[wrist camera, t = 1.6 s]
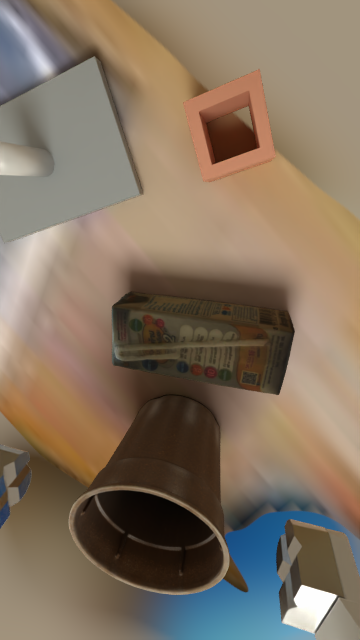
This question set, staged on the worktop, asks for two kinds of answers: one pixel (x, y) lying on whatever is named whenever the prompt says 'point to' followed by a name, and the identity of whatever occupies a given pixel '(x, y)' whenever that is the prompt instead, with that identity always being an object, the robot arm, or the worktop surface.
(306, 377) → the worktop surface
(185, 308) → the beverage carton
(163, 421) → the plant pot
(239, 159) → the collar
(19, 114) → the post board
